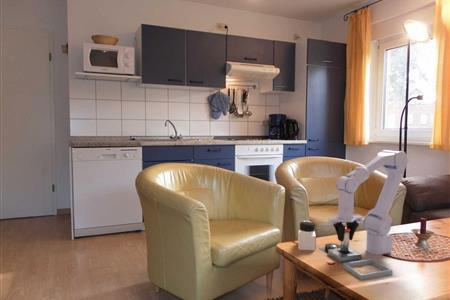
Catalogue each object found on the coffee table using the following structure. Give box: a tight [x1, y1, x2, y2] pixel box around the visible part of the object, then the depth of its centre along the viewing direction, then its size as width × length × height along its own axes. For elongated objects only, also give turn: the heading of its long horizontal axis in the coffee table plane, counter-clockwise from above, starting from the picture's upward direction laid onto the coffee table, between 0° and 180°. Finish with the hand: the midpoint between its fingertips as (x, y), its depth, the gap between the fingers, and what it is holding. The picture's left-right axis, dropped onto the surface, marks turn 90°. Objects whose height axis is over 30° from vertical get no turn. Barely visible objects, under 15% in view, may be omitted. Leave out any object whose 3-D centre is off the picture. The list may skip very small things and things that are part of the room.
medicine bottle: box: [297, 220, 317, 251], centre depth 145 cm, size 7×7×12 cm
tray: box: [342, 258, 393, 280], centre depth 122 cm, size 13×10×2 cm
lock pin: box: [339, 225, 351, 251], centre depth 134 cm, size 4×4×9 cm
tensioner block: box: [318, 242, 363, 264], centre depth 138 cm, size 10×16×3 cm, turn 17°
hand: (345, 240), depth 134 cm, fingers closed on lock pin, 4 cm apart
